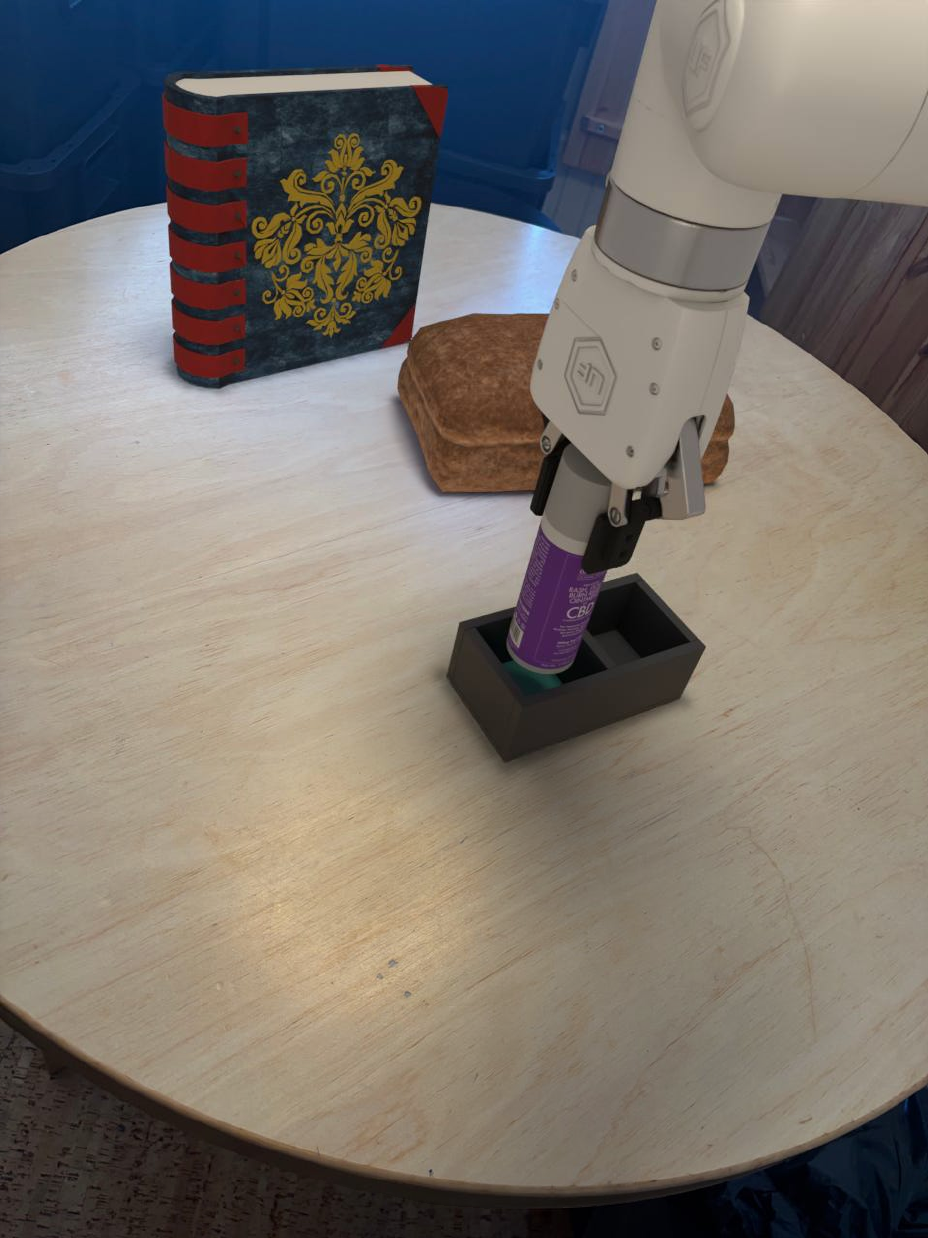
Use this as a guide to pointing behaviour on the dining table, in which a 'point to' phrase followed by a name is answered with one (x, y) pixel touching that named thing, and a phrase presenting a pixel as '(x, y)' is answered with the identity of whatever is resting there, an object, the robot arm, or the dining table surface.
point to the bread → (492, 403)
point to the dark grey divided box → (575, 671)
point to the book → (295, 213)
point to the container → (560, 570)
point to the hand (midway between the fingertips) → (578, 535)
